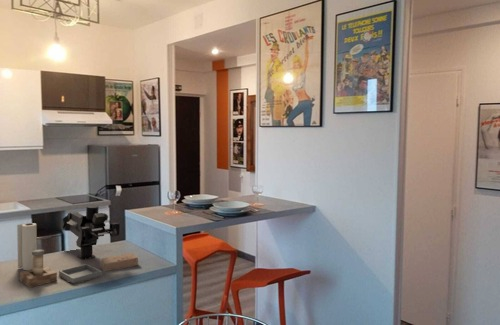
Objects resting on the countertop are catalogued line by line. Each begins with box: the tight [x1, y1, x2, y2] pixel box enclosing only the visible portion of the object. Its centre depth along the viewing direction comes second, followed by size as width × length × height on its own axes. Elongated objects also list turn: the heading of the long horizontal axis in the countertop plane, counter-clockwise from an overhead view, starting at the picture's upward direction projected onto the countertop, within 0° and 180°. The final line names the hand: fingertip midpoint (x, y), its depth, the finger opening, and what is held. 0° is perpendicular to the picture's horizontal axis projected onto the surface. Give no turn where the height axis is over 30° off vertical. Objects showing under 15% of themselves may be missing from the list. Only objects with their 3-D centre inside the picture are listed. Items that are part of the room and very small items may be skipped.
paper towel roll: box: [16, 222, 38, 271], centre depth 190 cm, size 7×6×21 cm
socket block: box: [19, 266, 58, 288], centre depth 177 cm, size 11×11×4 cm
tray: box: [58, 263, 102, 285], centre depth 184 cm, size 13×13×2 cm
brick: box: [100, 252, 139, 272], centre depth 199 cm, size 17×8×5 cm, turn 124°
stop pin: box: [32, 249, 45, 276], centre depth 177 cm, size 5×5×13 cm
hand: (107, 236), depth 190 cm, fingers open, 9 cm apart
